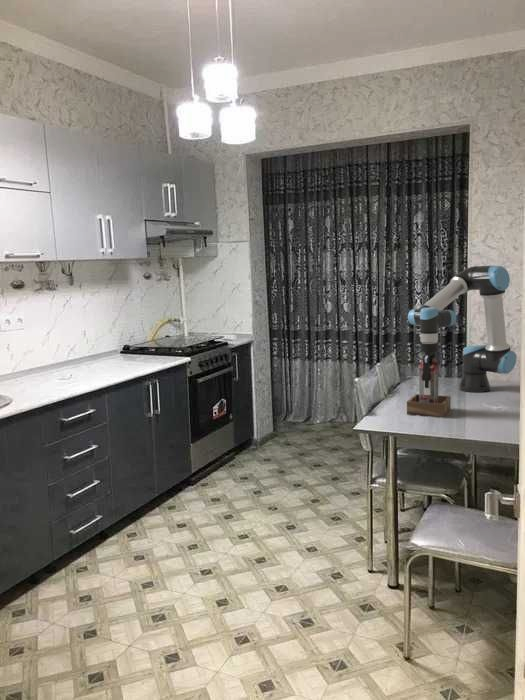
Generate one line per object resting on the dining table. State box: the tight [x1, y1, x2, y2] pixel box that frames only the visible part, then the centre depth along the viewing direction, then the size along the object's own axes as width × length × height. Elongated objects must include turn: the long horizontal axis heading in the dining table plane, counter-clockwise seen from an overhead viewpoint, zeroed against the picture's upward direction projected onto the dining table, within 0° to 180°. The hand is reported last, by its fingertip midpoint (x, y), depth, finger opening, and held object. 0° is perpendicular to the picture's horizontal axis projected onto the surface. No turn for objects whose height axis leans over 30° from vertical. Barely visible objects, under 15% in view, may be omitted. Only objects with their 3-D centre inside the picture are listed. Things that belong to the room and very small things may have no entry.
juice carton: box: [418, 357, 439, 403], centre depth 264 cm, size 7×7×22 cm
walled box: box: [406, 393, 452, 418], centre depth 266 cm, size 16×16×6 cm
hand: (428, 392), depth 265 cm, fingers closed on juice carton, 7 cm apart
